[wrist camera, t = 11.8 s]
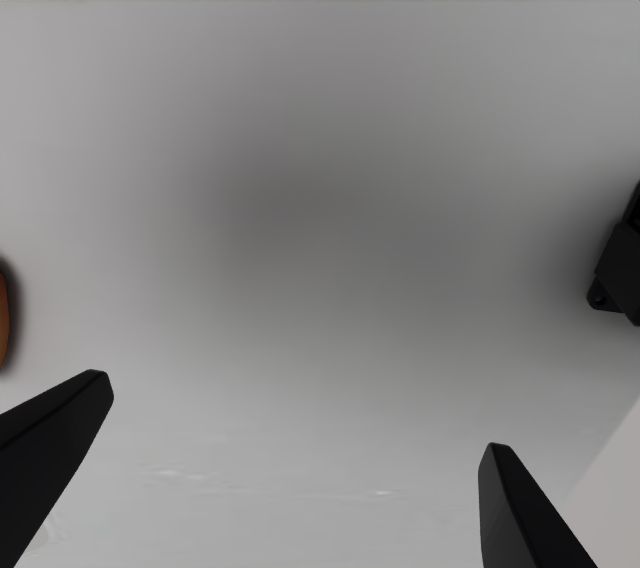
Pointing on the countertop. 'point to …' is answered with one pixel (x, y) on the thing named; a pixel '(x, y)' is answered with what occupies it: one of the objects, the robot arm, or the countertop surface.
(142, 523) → the countertop surface
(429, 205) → the countertop surface
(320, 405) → the countertop surface
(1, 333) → the hot dog
